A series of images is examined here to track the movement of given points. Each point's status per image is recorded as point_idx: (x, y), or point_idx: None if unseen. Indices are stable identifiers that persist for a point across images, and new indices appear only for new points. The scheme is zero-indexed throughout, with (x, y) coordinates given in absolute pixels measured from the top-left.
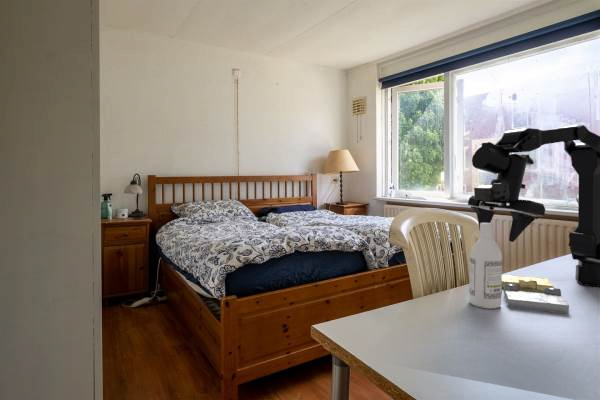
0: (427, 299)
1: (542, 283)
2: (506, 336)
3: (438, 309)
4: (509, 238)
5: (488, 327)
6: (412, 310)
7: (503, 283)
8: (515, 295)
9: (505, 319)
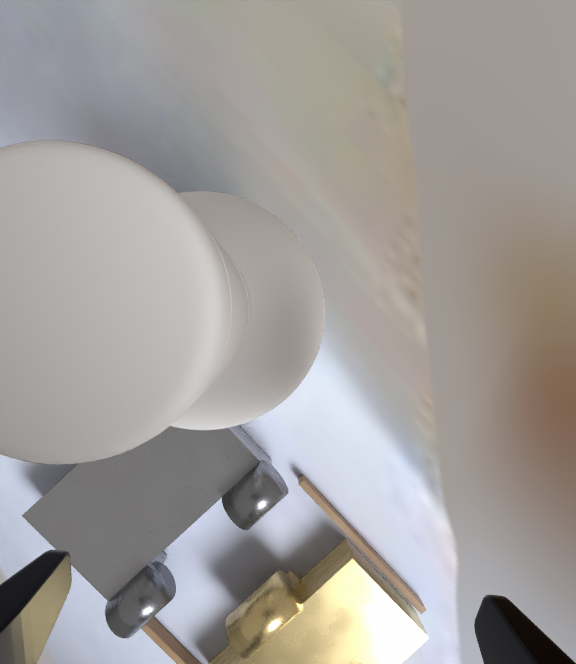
0: (386, 153)
1: None
2: (10, 129)
3: (285, 110)
4: (47, 571)
5: (85, 138)
6: (322, 11)
7: (344, 557)
8: (190, 435)
9: None
